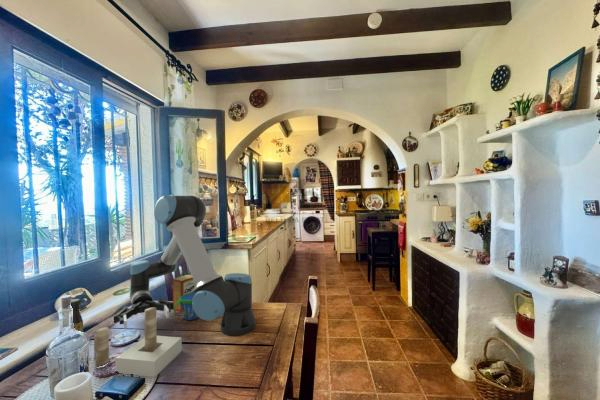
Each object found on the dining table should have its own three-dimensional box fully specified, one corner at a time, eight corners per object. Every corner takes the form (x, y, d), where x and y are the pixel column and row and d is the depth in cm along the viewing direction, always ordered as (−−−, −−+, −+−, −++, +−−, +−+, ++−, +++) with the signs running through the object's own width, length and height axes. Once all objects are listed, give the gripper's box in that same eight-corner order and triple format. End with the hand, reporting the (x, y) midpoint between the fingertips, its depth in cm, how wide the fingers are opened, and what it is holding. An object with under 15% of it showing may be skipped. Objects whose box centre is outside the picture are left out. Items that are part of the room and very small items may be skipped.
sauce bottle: (68, 362, 87) (68, 305, 87) (53, 360, 88) (53, 303, 88) (87, 351, 93) (87, 298, 93) (74, 349, 94) (74, 296, 94)
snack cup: (175, 326, 112) (175, 303, 112) (172, 317, 120) (172, 296, 120) (211, 317, 120) (211, 295, 120) (206, 309, 129) (206, 289, 129)
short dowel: (109, 354, 91) (109, 332, 91) (100, 360, 88) (100, 337, 88) (100, 353, 92) (100, 331, 92) (91, 359, 88) (91, 336, 88)
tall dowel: (158, 358, 88) (158, 307, 89) (151, 365, 85) (151, 311, 85) (149, 357, 89) (149, 307, 89) (142, 364, 85) (142, 311, 86)
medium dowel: (111, 362, 87) (111, 327, 87) (102, 369, 83) (101, 332, 83) (102, 361, 87) (102, 326, 87) (92, 368, 84) (92, 332, 84)
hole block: (181, 351, 93) (181, 337, 93) (154, 377, 79) (154, 361, 79) (147, 348, 95) (147, 334, 95) (115, 373, 81) (115, 357, 81)
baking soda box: (188, 303, 137) (188, 273, 137) (196, 305, 134) (196, 275, 135) (172, 309, 129) (172, 278, 129) (181, 312, 126) (181, 280, 126)
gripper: (173, 303, 118) (183, 319, 101) (106, 318, 103) (105, 341, 86) (173, 287, 118) (183, 301, 101) (106, 299, 103) (105, 319, 86)
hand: (147, 319), depth 93 cm, fingers open, 13 cm apart
